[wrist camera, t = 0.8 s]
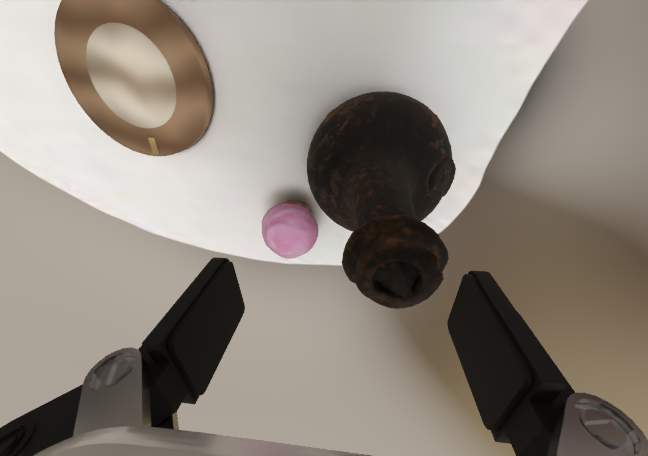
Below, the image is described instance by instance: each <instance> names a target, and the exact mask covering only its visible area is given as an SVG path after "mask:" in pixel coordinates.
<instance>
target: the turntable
mask: <svg viewBox="0 0 648 456" xmlns="http://www.w3.org/2000/svg"><path fill="white" fill-rule="evenodd" d="M55 45H56V50H57V55H58V59H59V63H60V66H61V69H62V72H63V74H64V77H65V79H66V82H67V84H68V86H69V88H70V90H71V91H72V93H73V95H74V96H75V98H76V100H77V101H78V103H79V104H80V106H81V107H82V108H83V110H84V111H85V112H86V114H87V115H88V116H89V117H90V118H91V120H92V121H93V122H94V123H95V124H96V125H97V126H98V127H99V128H100V129H101V130H103V131H104V132H105V133H106V134H107V135H108V136H110V137H111V138H112V139H114V140H115V141H117V142H118V143H120V144H122V145H123V146H125V147H127V148H129V149H131V150H133V151H136V152H139V153H142V154H146V155H152V156H167V155H172V154H175V153H178V152H181V151H183V150H186V149H188V148H190V147H192V146H193V145H194V144H196V143H197V142H198V141H199V140H200V139H201V137H202V136H203V135H204V133H205V131H206V129H207V127H208V125H209V122H210V119H211V114H212V107H213V91H212V84H211V79H210V75H209V71H208V68H207V65H206V62H205V59H204V57H203V54H202V52H201V50H200V48H199V46H198V44H197V43H196V41H195V39H194V37H193V36H192V34H191V33H190V31H189V30H188V29H187V27H186V26H185V24H184V23H183V22H182V21H181V20H180V19H179V17H178V16H177V15H176V14H175V13H174V12H173V11H172V10H171V9H170V8H168V7H167V6H166V5H165V4H164V3H162V2H161V1H160V0H62V1H61V3H60V5H59V8H58V11H57V15H56V20H55Z"/></svg>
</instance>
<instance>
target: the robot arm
mask: <svg viewBox="0 0 648 456" xmlns="http://www.w3.org/2000/svg"><path fill="white" fill-rule="evenodd" d="M244 309H245V306H244V302H243V298H242V294H241V291H240V287H239V284H238V280H237V277H236V273H235V269H234V266H233V263H232V262H229V260H228V259H227V258H212V259H211V260H210V262H209V263H208V264H207V265H206V267H205V268H204V269H203V270H202V271H201V272H200V274H199V275H198V276H197V277H196V278H195V280H194V281H193V282H192V283H191V284H190V286H189V287H188V288H187V289H186V291H185V292H184V293H183V294H182V295H181V297H180V298H179V299H178V300H177V301H176V303H175V304H174V305H173V306H172V307H171V309H170V310H169V311H168V312H167V313H166V315H165V316H164V317H163V318H162V320H161V321H160V322H159V323H158V324H157V326H156V327H155V328H154V329H153V330H152V332H151V333H150V334H149V335H148V336H147V338H146V339H145V340H144V341H143V343H142V344H143V345H142V346H141V347H140V348H139V350H137V349H135V348H123V349H121V350H118V351H115V352H113V353H111V354H109V355H107V356H106V357H104V358H103V359H102V360H100V361H99V362H98V363H97V364H96V365H95V366H94V367H93V368H92V369H91V370H90V371H89V373H88V374H87V376H86V377H85V380H84V382H83V385H81V386H79V387H77V388H75V389H73V390H71V391H69V392H67V393H65V394H63V395H61V396H59V397H57V398H55V399H54V400H52V401H50V402H48V403H46V404H44V405H42V406H40V407H38V408H36V409H34V410H32V411H30V412H28V413H26V414H24V415H23V416H21V417H19V418H17V419H15V420H13V421H11V422H9V423H8V424H6V425H4V426H3V427H1V428H0V456H370V455H363V454H355V453H348V452H341V451H334V450H326V449H320V448H311V447H305V446H298V445H290V444H283V443H275V442H268V441H261V440H253V439H245V438H237V437H231V436H223V435H216V434H207V433H201V432H191V431H182V430H179V427H178V418H177V410H178V408H179V406H180V405H181V403H189V404H195V403H196V401H197V399H198V397H199V395H202V394H204V392H205V391H206V389H207V387H208V385H209V383H210V381H211V379H212V377H213V375H214V373H215V371H216V369H217V367H218V365H219V362H220V360H221V359H222V356H223V354H224V352H225V350H226V348H227V346H228V344H229V342H230V340H231V338H232V336H233V334H234V332H235V330H236V328H237V326H238V323H239V322H240V320H241V318H242V316H243V313H244ZM448 329H449V333H450V335H451V338H452V341H453V343H454V346H455V349H456V351H457V354H458V357H459V359H460V362H461V365H462V367H463V370H464V373H465V375H466V378H467V381H468V383H469V386H470V388H471V391H472V394H473V397H474V399H475V402H476V405H477V407H478V410H479V413H480V416H481V418H482V421H483V423H484V425H485V427H486V428H487V429H488V430H491V432H492V434H493V437H494V440H495V442H502V443H510V444H511V445H512V447H513V449H514V452H515V454H516V456H648V440H647V438H646V437H645V435H644V433H643V432H642V431H641V429H640V428H639V427H638V426H637V425H636V424H635V423H634V422H633V420H632V419H630V418H629V417H628V416H627V415H626V414H625V413H623V412H622V411H621V410H620V409H618V408H617V407H615V406H613V405H612V404H611V403H609V402H607V401H605V400H603V399H601V398H599V397H597V396H594V395H591V394H587V393H575V392H574V390H573V389H572V387H571V386H570V385H569V383H568V382H567V380H566V379H565V378H564V376H563V375H562V373H561V372H560V370H559V369H558V368H557V366H556V365H555V363H554V362H553V361H552V359H551V358H550V356H549V355H548V354H547V352H546V351H545V349H544V348H543V347H542V345H541V344H540V342H539V341H538V339H537V338H536V337H535V336H534V334H533V332H532V331H531V329H530V328H529V327H528V325H527V324H526V323H525V321H524V320H523V318H522V317H521V315H520V314H519V313H518V312H517V311H516V310H515V308H514V307H513V306H512V304H511V303H510V301H509V300H508V298H507V297H506V296H505V294H504V293H503V291H502V290H501V288H500V287H499V286H498V284H497V283H496V281H495V280H494V279H493V277H492V276H491V274H490V273H489V272H485V271H470V272H469V273H468V274H465V275H464V276H463V279H462V282H461V284H460V287H459V290H458V293H457V296H456V299H455V302H454V304H453V307H452V310H451V313H450V316H449V319H448Z"/></svg>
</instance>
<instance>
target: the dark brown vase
mask: <svg viewBox="0 0 648 456" xmlns="http://www.w3.org/2000/svg"><path fill="white" fill-rule="evenodd" d="M455 170H456V168H455V164H454V162H453V160H452V152H451V145H450V143H449V140H448V136H447V134H446V131H445V129H444V127H443V125H442V123H441V121H440V119H439V118H438V117H437V115H436V114H434V113H433V112H432V111H431V110H430V109H429V108H428V107H427V106H425V105H424V104H423V103H421V102H419V101H417V100H416V99H413V98H411V97H409V96H406V95H403V94H399V93H394V92H372V93H366V94H362V95H359V96H357V97H354V98H352V99H350V100H348V101H346V102H344V103H342V104H341V105H339V106H338V107H337V108H336V109H334V110H332V111H331V112H330V113H329V114H328V115H327V117H326V118H325V119H324V121H323V122H322V123H321V125H320V126H319V128H318V129H317V131H316V133H315V135H314V137H313V140H312V142H311V145H310V148H309V153H308V159H307V175H308V181H309V185H310V189H311V191H312V194H313V196H314V198H315V200H316V202H317V203H318V204H319V206H320V208H321V209H322V210H323V211H324V212H325V214H326V215H327V216H328V217H329V218H331V219H332V220H333V221H334V222H336V223H337V224H338V225H340V226H342V227H344V228H346V229H348V230H350V231H353V233H352V234H351V236H350V238H349V239H348V241H347V243H346V246H345V249H344V252H343V259H342V265H343V268H344V271H345V273H346V275H347V277H348V278H349V280H350V281H352V282H354V283H356V285H357V287H358V289H359V290H360V291H361V293H362V294H364V295H365V296H366V297H368V298H370V299H371V300H373V301H374V302H376V303H378V304H380V305H383V306H386V307H389V308H396V309H398V308H406V307H412V306H414V305H416V304H419V303H421V302H423V301H424V300H426V299H428V298H429V297H430V296H431V295H432V294H433V293H434V292H435V291H436V289H437V288H438V287H439V286H440V284H441V282H442V280H443V274H442V271H443V269H444V267H445V266H446V264H447V261H448V252H447V249H446V247H445V245H444V243H443V242H442V240H441V239H440V237H439V235H438V234H437V233H436V232H435V231H434V230H433V229H432V228H430V227H429V226H427V225H426V224H425V223H423V222H421V221H422V220H423V219H424V218H425V217H427V216H428V215H429V214H430V213H431V212H432V211H433V210H434V209H435V207H436V206H437V205H438V203H439V201H440V200H441V198H442V197H443V196H445V195H446V193H447V192H448V190H449V189H450V186H451V184H452V182H453V179H454V175H455Z"/></svg>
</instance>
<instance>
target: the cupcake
mask: <svg viewBox="0 0 648 456" xmlns="http://www.w3.org/2000/svg"><path fill="white" fill-rule="evenodd" d="M262 234H263V238H264V241H265V243H266V245H267V246H268V247H269V248H270V249H271V250H272V251H273V252H275V253H276V254H278V255H279V256H281V257H283V258H296V257H298V256H300V255H303V254H305V253H306V252H308V251H309V250H310V249H311V248H312V247H313V246H314V244H315V242H316V240H317V237H318V224H317V222H316V220H315V218H314V216H313V215H312V214H311V209H310V207H309V206H308V205H306V204H303V203H300V202H296V201H291V200H287V201H286V202H285V203H283V204H279V205H276V206H274V207H272V208H271V209H269V210H268V211H267V213H266V214H265V216H264V218H263V220H262Z"/></svg>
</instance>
